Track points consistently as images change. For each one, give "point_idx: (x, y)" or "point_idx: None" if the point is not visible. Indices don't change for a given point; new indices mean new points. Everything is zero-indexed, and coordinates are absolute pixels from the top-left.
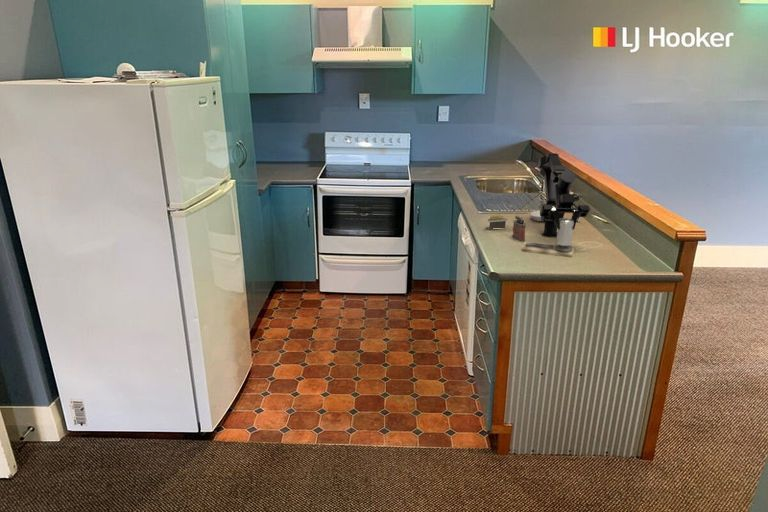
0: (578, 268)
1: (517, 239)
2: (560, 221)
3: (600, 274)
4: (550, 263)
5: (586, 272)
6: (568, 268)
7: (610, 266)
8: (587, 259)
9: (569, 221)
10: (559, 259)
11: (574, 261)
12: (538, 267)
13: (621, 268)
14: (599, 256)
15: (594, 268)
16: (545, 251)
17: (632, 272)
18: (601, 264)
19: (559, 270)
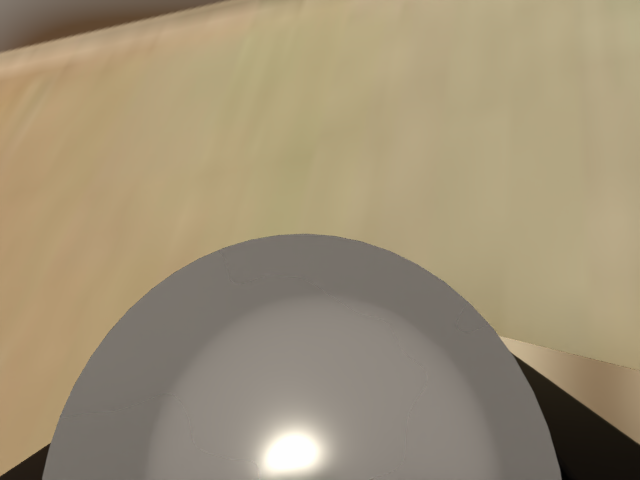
0: (317, 68)
1: None
2: (508, 366)
3: (209, 10)
4: (520, 118)
5: (282, 18)
6: (388, 53)
7: (91, 144)
8: (195, 260)
9: (228, 278)
10: (435, 222)
11: (313, 196)
12: (619, 23)
13: (42, 124)
14: (69, 352)
15: (209, 90)
16: (585, 362)
17: (16, 77)
18: (133, 170)
19: (457, 8)
